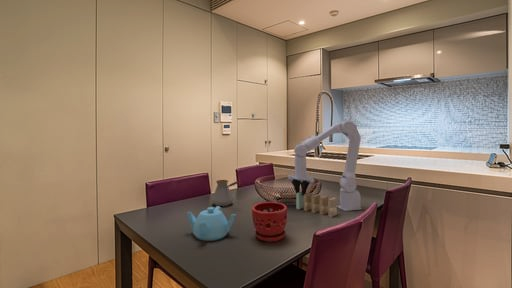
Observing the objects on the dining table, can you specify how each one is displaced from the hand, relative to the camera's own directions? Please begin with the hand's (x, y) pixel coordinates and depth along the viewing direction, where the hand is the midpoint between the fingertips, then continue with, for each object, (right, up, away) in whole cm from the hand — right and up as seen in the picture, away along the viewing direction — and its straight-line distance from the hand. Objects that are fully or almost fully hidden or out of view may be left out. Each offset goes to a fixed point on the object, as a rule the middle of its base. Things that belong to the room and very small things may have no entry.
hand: (300, 194), depth 144 cm
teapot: (-40, -10, -34) cm, 53 cm away
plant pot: (-18, -10, -37) cm, 42 cm away
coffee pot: (-37, -7, +4) cm, 38 cm away
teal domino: (0, -7, 0) cm, 7 cm away
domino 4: (+13, -8, -12) cm, 19 cm away
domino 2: (+6, -7, -6) cm, 11 cm away
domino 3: (+10, -7, -9) cm, 15 cm away
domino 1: (+3, -7, -3) cm, 8 cm away
